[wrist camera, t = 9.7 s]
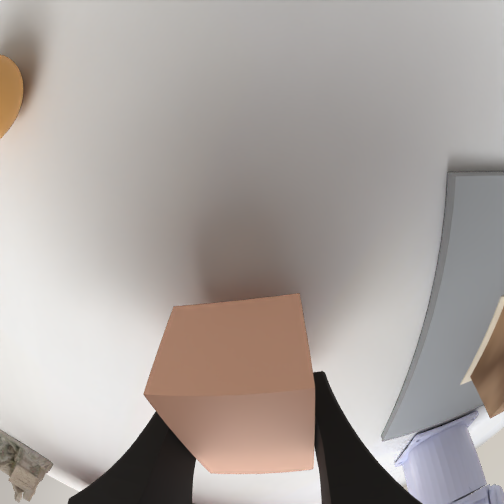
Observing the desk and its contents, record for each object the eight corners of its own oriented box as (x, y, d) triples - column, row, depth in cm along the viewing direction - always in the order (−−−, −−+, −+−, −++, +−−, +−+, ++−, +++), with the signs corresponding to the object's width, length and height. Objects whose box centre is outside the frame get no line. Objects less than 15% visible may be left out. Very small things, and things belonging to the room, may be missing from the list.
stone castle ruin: (62, 468, 36) (41, 519, 23) (35, 458, 41) (16, 500, 28) (4, 423, 31) (-25, 476, 17) (-12, 418, 35) (-35, 460, 22)
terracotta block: (306, 400, 13) (313, 469, 10) (217, 406, 14) (210, 473, 10) (299, 293, 10) (315, 387, 7) (173, 306, 10) (143, 393, 7)
